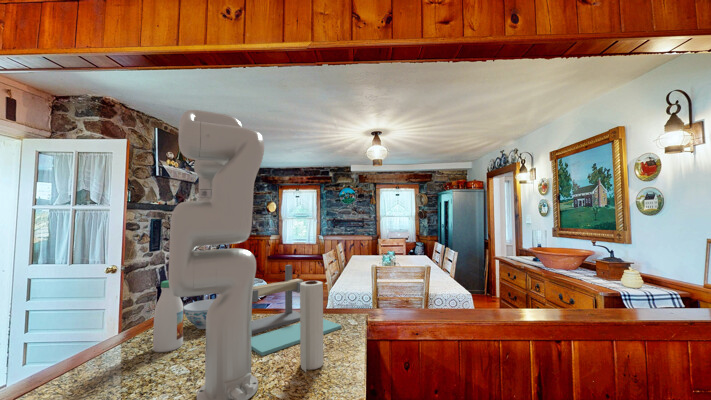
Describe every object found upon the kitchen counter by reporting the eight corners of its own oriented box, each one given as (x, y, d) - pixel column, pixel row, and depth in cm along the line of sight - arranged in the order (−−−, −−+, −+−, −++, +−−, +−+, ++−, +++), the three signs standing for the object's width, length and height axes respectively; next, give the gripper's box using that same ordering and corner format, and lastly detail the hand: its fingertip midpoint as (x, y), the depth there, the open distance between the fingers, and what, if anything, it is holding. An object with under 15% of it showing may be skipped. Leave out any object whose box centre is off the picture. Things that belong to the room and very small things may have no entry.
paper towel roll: (313, 357, 84) (313, 279, 85) (328, 364, 79) (327, 281, 81) (291, 366, 78) (291, 283, 80) (305, 374, 74) (305, 286, 76)
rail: (303, 287, 120) (303, 279, 120) (244, 299, 103) (244, 290, 103) (298, 286, 122) (298, 278, 122) (240, 297, 105) (240, 288, 106)
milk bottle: (168, 354, 87) (170, 283, 89) (146, 352, 89) (148, 283, 90) (188, 343, 95) (189, 278, 96) (167, 341, 96) (169, 278, 98)
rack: (307, 318, 117) (307, 266, 118) (247, 335, 100) (248, 274, 102) (293, 313, 124) (292, 264, 125) (235, 328, 107) (235, 271, 109)
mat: (341, 328, 106) (341, 325, 106) (262, 356, 85) (262, 352, 85) (318, 319, 115) (318, 317, 115) (242, 343, 94) (242, 339, 94)
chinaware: (195, 336, 100) (195, 312, 101) (175, 327, 109) (176, 305, 110) (236, 323, 112) (236, 302, 113) (215, 316, 121) (216, 297, 122)
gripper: (202, 193, 97) (201, 246, 96) (234, 197, 114) (234, 242, 113) (182, 194, 99) (181, 246, 98) (217, 197, 116) (216, 242, 114)
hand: (209, 244), depth 105 cm, fingers open, 9 cm apart
